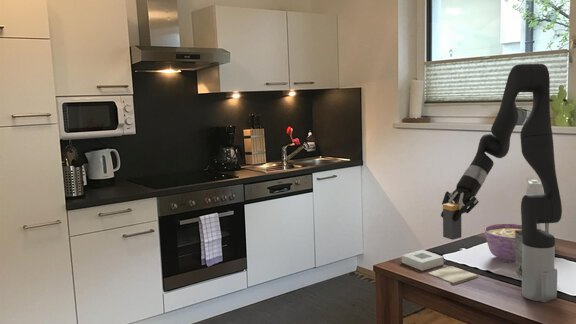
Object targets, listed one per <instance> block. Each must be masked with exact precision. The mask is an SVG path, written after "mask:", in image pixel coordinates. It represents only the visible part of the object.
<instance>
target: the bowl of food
mask: <svg viewBox="0 0 576 324" xmlns="http://www.w3.org/2000/svg"><path fill="white" fill-rule="evenodd" d="M483 230H484V234H485V238H486V243H487V246H488V249H489V251H490V253H491V254H492V255H493V256H494V257H496V258H497V259H500V260H501V261H502V262H505V261H506V263H510V262H511V263H512V264H513V263H514V264H515V231H516V230H522V224H520V223H519V224H517V223H496V224H491V225H488V226H485V227H484V229H483Z"/></svg>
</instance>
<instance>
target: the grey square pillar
mask: <svg viewBox="0 0 576 324" xmlns="http://www.w3.org/2000/svg"><path fill="white" fill-rule="evenodd" d="M458 206H459V204H457V203H455V202H453V203H447V204H443V205H442V211H443V218H442V236H443V238H446V239H449V240H452V241H454V240H457V239H461V238H462V215H461V216H460V218H459V220H457V221H456V222H454V221H453V220H452V216H453V215H454V213H455V212H456V210H458Z"/></svg>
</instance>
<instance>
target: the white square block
mask: <svg viewBox="0 0 576 324" xmlns="http://www.w3.org/2000/svg"><path fill="white" fill-rule="evenodd" d="M444 260H445V259H444V256H442V255H439V254H437V253H434V252H431V251H428V250H425V249H421V250H420V249H419V250H416V251H412V252H410V253H405V254H401V263H402V264H405V265H406V266H410V267H412V268H415V269H417V270H420V271H426V270H429V269H433V268H436V267H440V266H443V265H444V263H445V262H444Z"/></svg>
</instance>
